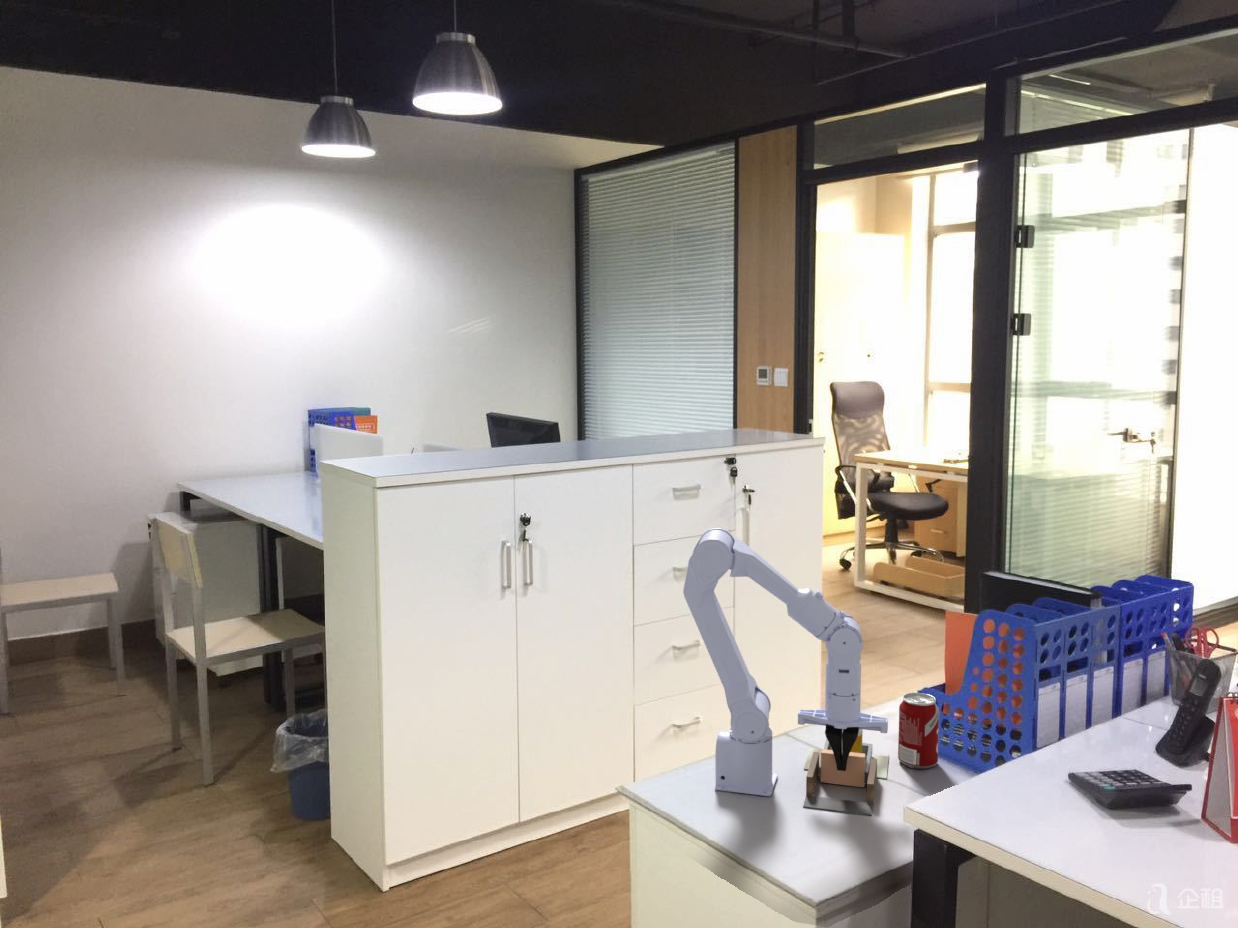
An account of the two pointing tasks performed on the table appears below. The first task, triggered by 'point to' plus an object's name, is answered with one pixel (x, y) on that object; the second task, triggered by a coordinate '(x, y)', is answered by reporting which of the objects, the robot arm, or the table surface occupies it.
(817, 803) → the track
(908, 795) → the table surface
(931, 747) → the soda can
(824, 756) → the box
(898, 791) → the table surface
